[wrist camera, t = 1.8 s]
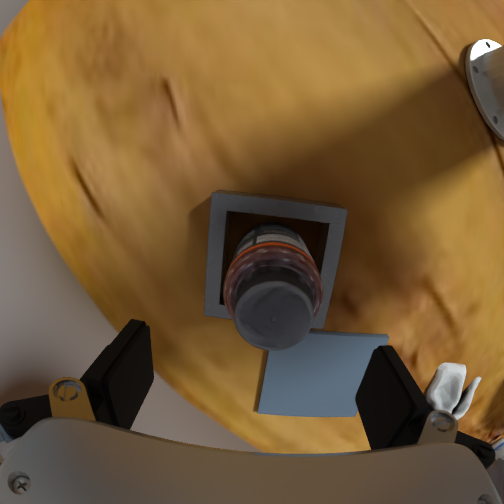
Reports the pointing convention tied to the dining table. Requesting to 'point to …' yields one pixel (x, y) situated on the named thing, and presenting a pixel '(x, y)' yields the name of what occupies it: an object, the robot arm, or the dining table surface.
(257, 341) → the supplement bottle
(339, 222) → the collar
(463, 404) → the cloth
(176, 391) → the dining table surface
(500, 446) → the supplement tub
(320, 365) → the board
